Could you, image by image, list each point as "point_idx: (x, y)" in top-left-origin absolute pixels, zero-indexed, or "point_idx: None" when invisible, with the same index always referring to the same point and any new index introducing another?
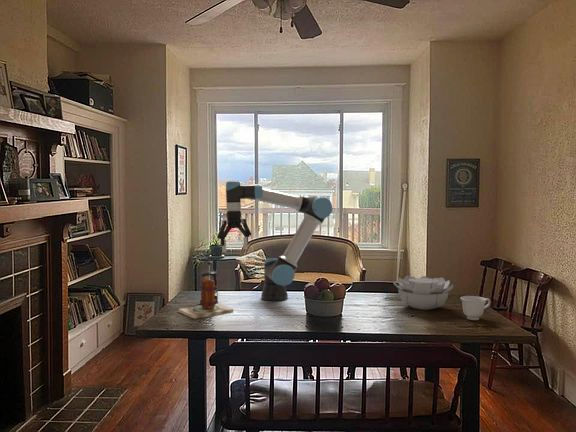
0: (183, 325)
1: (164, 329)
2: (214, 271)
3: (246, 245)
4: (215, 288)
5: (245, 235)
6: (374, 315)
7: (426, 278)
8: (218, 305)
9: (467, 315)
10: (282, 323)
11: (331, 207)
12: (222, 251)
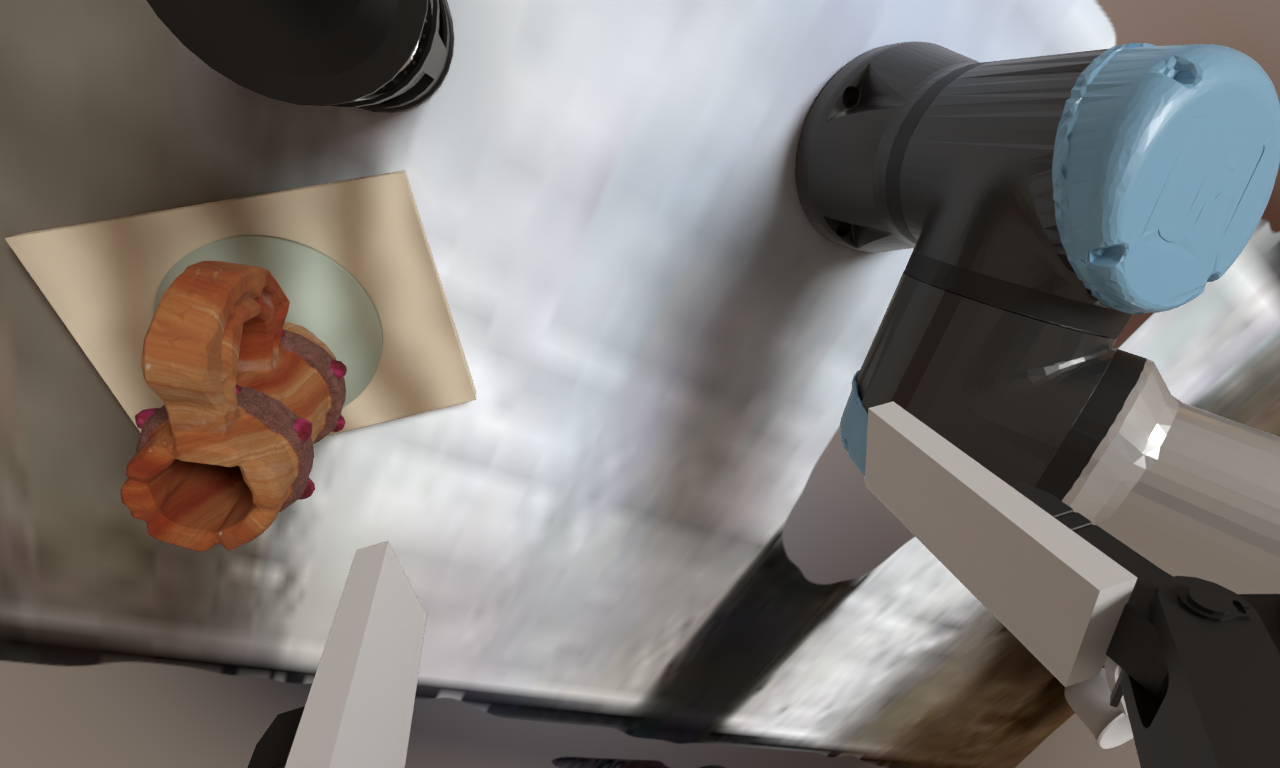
0: (92, 565)
1: None
2: None
3: (914, 530)
4: (300, 497)
5: (1167, 665)
6: (940, 602)
7: None
8: (402, 264)
9: (1066, 687)
10: (612, 625)
11: None
12: (359, 557)
